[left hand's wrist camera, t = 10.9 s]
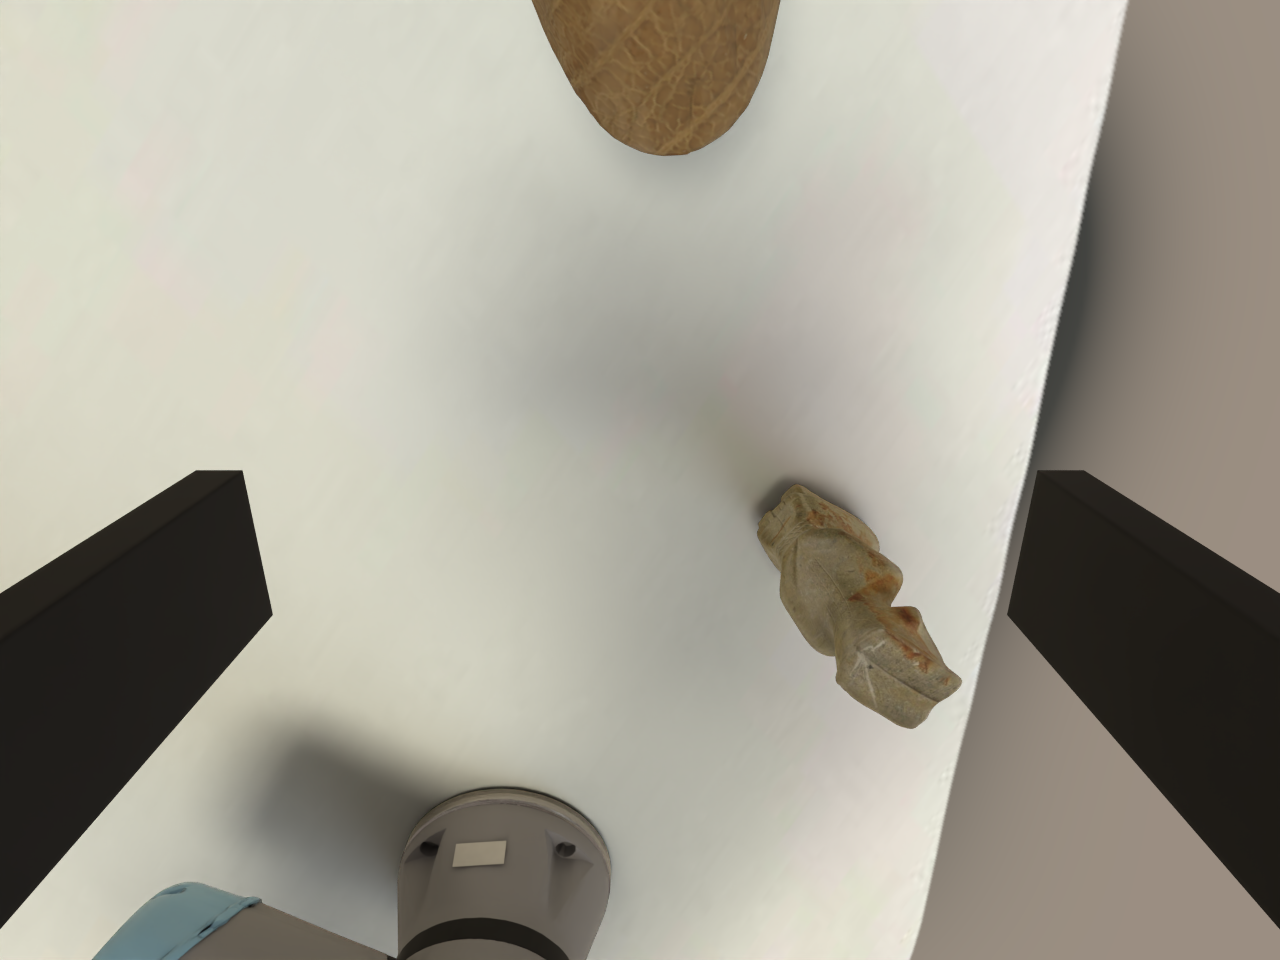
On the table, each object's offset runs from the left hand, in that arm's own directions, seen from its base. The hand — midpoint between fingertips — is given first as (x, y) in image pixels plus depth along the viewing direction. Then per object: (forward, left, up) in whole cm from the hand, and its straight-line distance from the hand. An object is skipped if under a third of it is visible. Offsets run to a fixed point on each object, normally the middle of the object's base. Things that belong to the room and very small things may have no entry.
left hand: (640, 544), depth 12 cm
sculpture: (-13, -10, -29) cm, 34 cm away
